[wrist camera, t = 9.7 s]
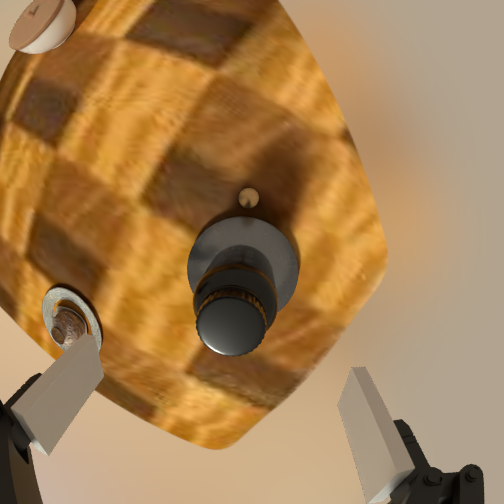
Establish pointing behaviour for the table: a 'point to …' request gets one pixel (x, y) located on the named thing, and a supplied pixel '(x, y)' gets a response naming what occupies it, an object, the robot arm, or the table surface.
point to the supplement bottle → (235, 301)
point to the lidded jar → (43, 26)
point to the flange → (249, 234)
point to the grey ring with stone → (67, 319)
